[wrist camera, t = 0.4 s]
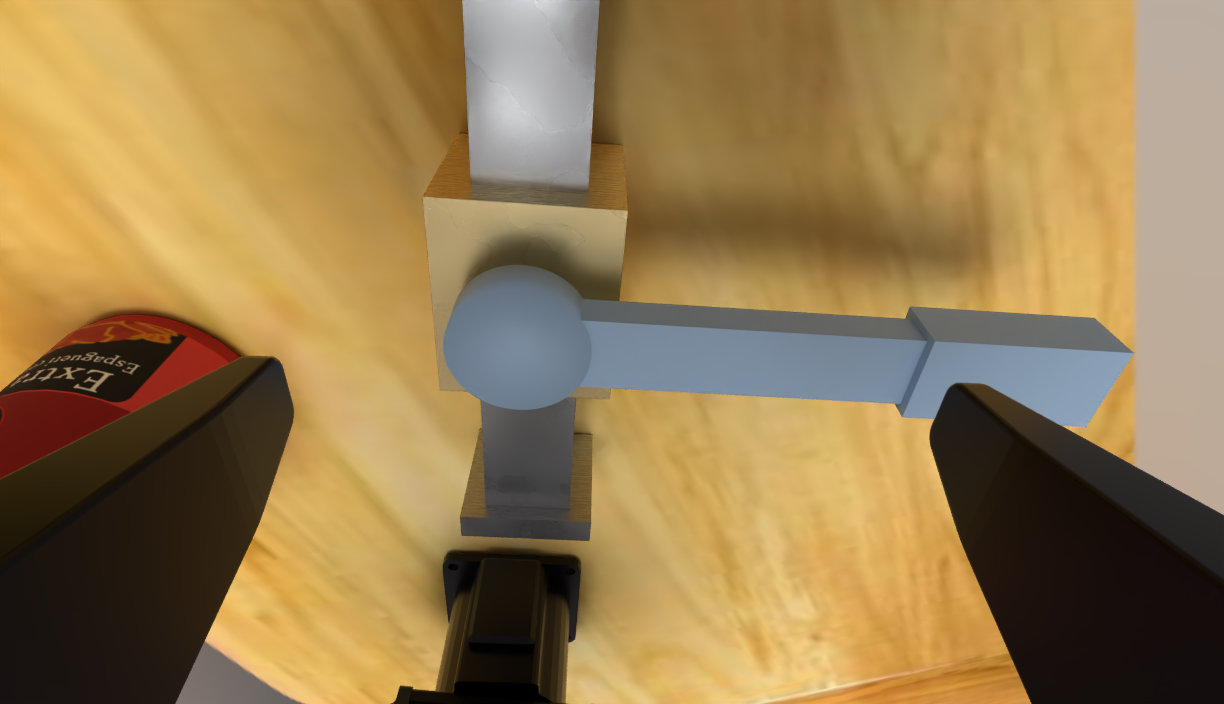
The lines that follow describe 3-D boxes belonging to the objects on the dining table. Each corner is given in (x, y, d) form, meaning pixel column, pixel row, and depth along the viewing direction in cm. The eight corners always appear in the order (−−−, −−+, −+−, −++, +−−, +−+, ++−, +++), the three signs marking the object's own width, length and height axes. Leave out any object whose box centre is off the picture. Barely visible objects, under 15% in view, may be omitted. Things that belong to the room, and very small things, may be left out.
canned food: (173, 275, 23) (-102, 529, 14) (322, 432, 27) (183, 704, 18) (16, 351, 25) (-319, 620, 16) (178, 487, 29) (-12, 760, 20)
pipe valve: (595, 452, 28) (594, 550, 24) (475, 446, 28) (453, 544, 24) (647, -136, 16) (662, -142, 12) (443, -156, 16) (389, -169, 12)
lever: (1035, 396, 20) (1075, 443, 18) (460, 364, 19) (446, 411, 17) (1096, 290, 18) (1147, 332, 16) (452, 248, 17) (436, 289, 15)
